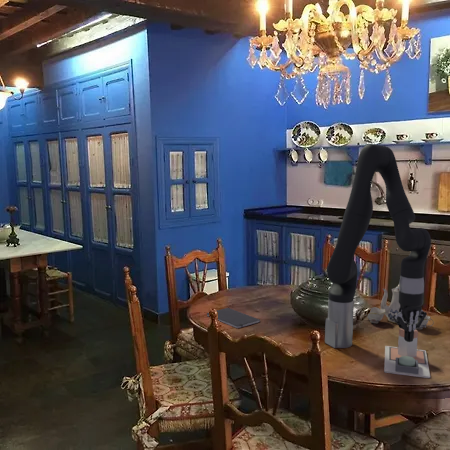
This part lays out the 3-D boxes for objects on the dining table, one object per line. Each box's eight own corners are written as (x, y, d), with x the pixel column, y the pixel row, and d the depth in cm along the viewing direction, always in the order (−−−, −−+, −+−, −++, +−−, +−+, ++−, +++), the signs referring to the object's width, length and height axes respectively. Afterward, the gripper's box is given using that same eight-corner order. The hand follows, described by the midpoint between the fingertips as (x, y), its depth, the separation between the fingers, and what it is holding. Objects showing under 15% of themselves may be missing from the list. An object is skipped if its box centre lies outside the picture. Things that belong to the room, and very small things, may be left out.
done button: (415, 368, 165) (415, 363, 165) (398, 366, 167) (399, 361, 167) (414, 362, 170) (414, 357, 170) (398, 360, 172) (399, 355, 171)
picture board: (430, 378, 163) (430, 370, 163) (384, 372, 167) (384, 364, 167) (425, 351, 184) (426, 345, 184) (385, 347, 188) (385, 340, 188)
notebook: (260, 323, 216) (227, 310, 232) (260, 319, 216) (227, 307, 232) (237, 329, 208) (205, 316, 224) (237, 326, 208) (205, 313, 224)
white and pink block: (406, 358, 176) (408, 332, 175) (397, 354, 180) (399, 328, 179) (416, 356, 178) (418, 330, 177) (407, 352, 182) (408, 326, 181)
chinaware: (361, 328, 213) (362, 291, 209) (364, 312, 228) (365, 277, 224) (433, 336, 204) (436, 297, 200) (431, 319, 219) (434, 283, 215)
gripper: (404, 295, 159) (402, 348, 161) (435, 290, 164) (432, 341, 167) (387, 289, 165) (385, 340, 168) (417, 284, 171) (415, 334, 174)
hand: (408, 340), depth 167 cm, fingers closed
